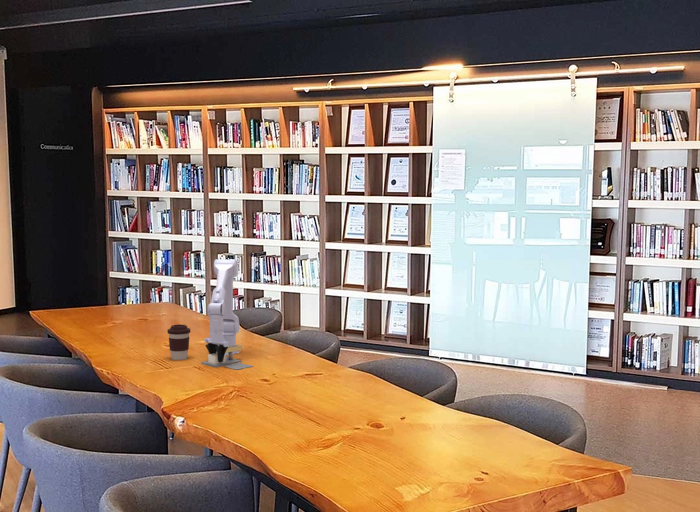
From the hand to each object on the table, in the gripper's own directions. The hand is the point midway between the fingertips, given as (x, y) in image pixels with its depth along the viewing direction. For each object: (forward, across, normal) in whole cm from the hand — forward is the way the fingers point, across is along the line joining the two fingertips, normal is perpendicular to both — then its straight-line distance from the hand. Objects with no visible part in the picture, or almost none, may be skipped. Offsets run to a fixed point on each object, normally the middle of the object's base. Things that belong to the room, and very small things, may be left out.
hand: (216, 361), depth 332 cm
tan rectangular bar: (-3, 0, +8) cm, 8 cm away
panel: (+2, 0, +2) cm, 3 cm away
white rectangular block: (0, 0, 0) cm, 0 cm away
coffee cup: (+2, -21, -4) cm, 22 cm away
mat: (+2, +10, +4) cm, 11 cm away
